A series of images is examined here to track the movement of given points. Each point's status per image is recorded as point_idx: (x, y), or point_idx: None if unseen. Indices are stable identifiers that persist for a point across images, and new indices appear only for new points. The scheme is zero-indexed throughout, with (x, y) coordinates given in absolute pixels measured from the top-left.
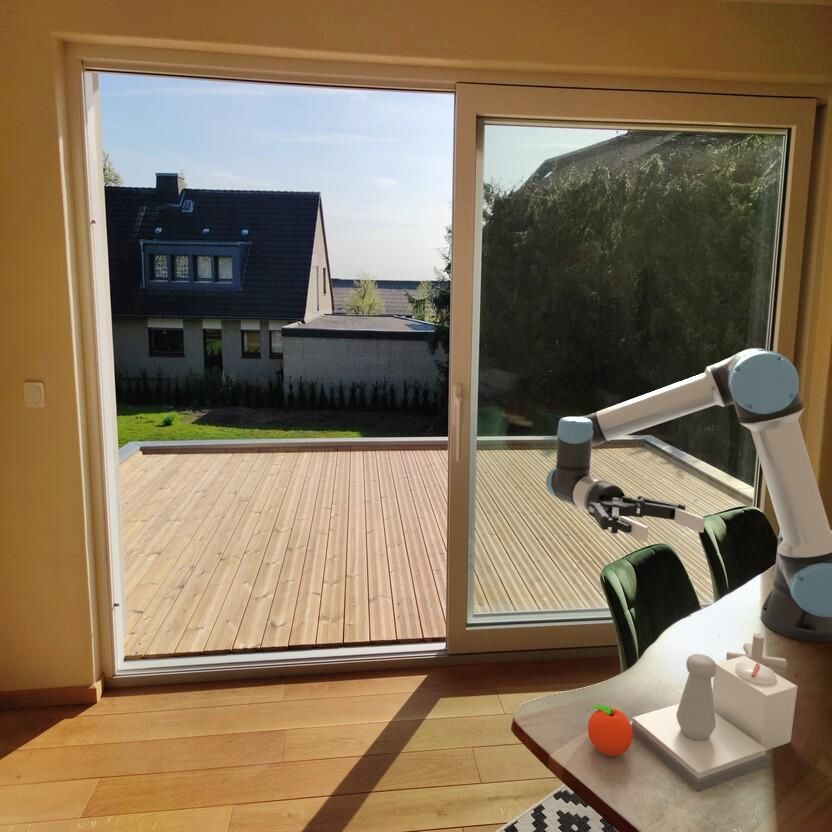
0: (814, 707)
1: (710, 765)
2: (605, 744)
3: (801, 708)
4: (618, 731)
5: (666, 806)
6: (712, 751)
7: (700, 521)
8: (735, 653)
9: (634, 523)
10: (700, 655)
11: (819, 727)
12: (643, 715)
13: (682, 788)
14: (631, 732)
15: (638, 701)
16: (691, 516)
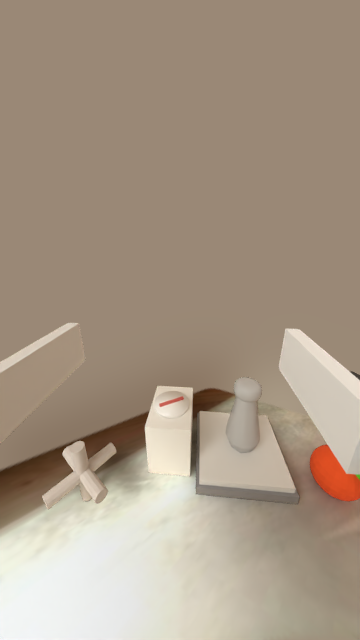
0: (91, 440)
1: None
2: None
3: (101, 444)
4: None
5: (297, 423)
6: None
7: (78, 332)
8: (95, 484)
9: (323, 353)
10: (246, 385)
11: (121, 425)
12: (280, 485)
13: (276, 428)
14: (316, 448)
15: (254, 550)
16: (54, 344)
